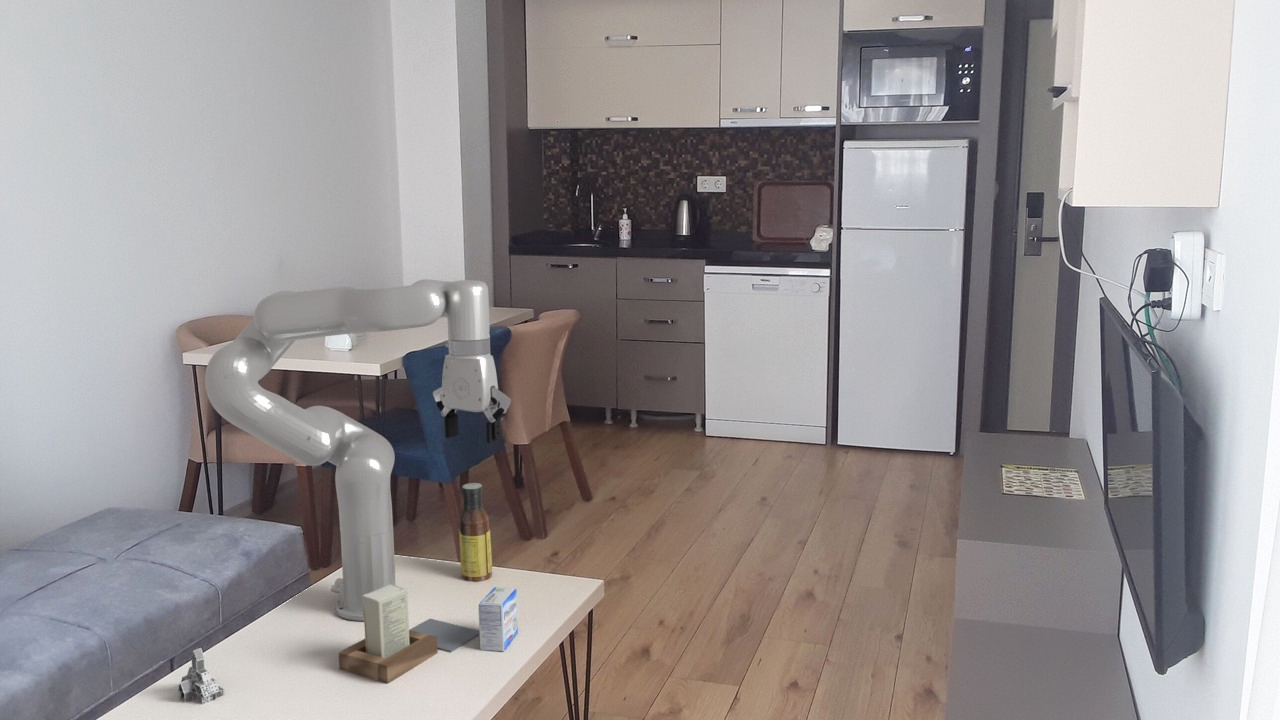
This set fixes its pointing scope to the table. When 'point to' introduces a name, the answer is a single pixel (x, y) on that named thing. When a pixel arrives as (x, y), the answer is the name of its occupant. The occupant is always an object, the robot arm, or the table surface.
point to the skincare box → (386, 621)
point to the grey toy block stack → (199, 681)
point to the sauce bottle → (474, 536)
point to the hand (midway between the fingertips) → (472, 439)
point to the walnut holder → (394, 665)
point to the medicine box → (498, 619)
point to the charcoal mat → (446, 634)
